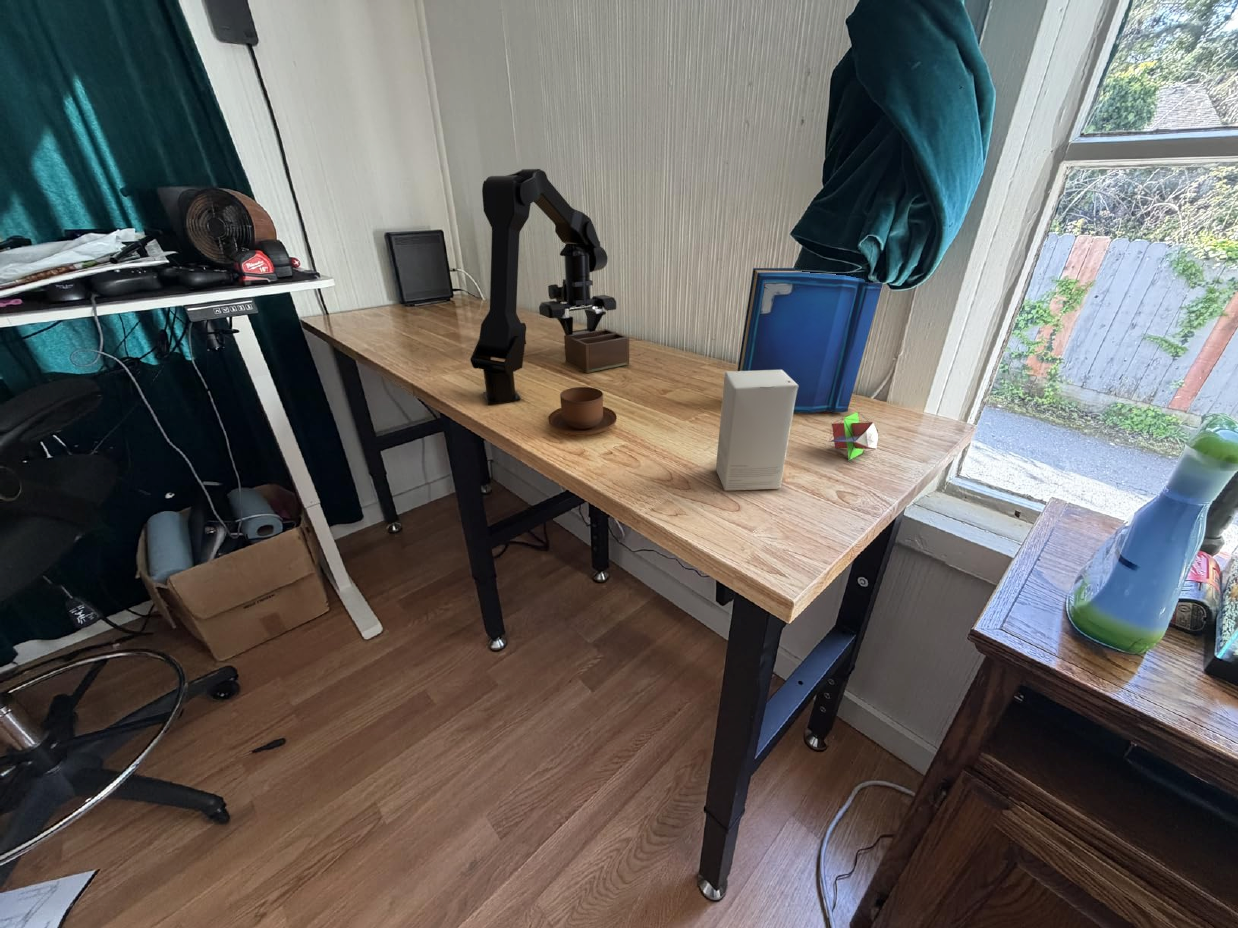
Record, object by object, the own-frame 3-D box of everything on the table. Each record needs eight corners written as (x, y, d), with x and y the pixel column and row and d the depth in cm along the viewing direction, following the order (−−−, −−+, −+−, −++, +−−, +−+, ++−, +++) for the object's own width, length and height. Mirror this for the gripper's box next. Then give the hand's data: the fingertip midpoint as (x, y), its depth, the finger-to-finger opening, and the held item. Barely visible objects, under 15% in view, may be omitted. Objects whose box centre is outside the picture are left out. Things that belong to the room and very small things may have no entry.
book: (843, 403, 98) (875, 268, 86) (854, 417, 91) (890, 274, 79) (732, 398, 100) (748, 266, 87) (736, 412, 93) (754, 272, 81)
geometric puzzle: (809, 435, 79) (846, 408, 73) (833, 425, 83) (870, 397, 77) (836, 473, 77) (876, 448, 71) (859, 460, 81) (899, 435, 75)
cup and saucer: (535, 425, 88) (533, 392, 85) (589, 408, 95) (588, 378, 92) (575, 448, 80) (573, 413, 77) (630, 428, 87) (631, 395, 84)
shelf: (557, 358, 123) (556, 332, 120) (598, 350, 129) (598, 325, 126) (586, 373, 113) (585, 344, 110) (629, 364, 119) (629, 337, 116)
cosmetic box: (768, 468, 74) (785, 368, 67) (782, 491, 68) (802, 385, 61) (712, 469, 74) (723, 368, 67) (722, 492, 68) (735, 385, 61)
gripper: (593, 268, 126) (594, 330, 134) (526, 274, 117) (531, 340, 125) (617, 274, 118) (617, 338, 126) (548, 280, 109) (552, 350, 117)
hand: (580, 341), depth 123 cm, fingers closed on shelf, 5 cm apart
